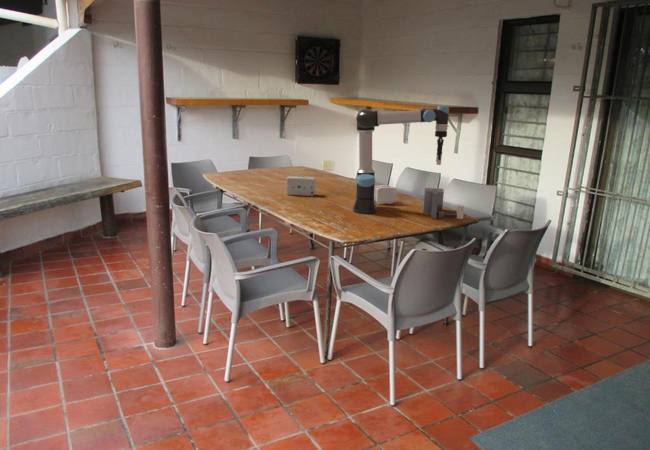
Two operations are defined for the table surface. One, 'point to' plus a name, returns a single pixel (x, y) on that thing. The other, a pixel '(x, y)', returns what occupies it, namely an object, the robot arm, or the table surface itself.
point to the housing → (433, 201)
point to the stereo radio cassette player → (301, 185)
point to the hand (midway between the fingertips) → (438, 163)
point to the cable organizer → (384, 194)
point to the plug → (458, 215)
